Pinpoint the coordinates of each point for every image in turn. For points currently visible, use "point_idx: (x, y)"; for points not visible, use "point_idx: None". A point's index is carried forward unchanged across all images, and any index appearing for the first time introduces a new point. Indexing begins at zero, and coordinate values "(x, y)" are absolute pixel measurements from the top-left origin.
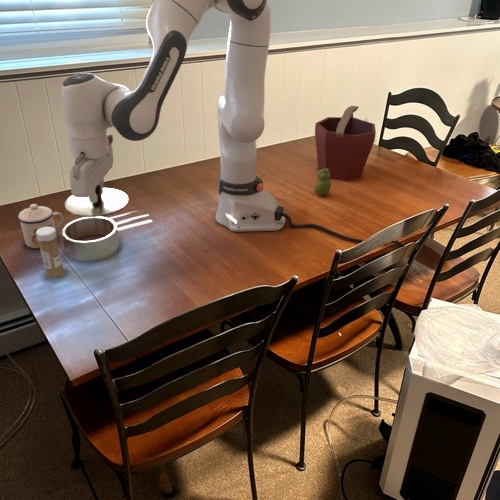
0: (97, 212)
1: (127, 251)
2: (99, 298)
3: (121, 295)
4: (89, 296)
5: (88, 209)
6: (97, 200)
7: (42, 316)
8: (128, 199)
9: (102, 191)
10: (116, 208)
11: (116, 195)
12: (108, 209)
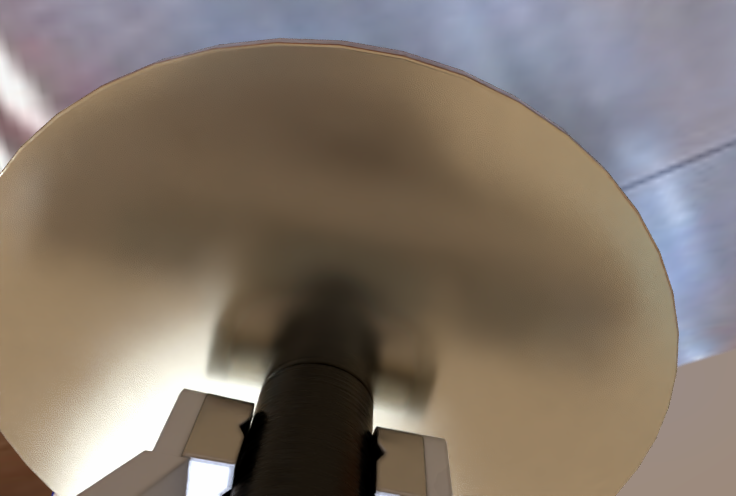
0: (610, 389)
1: (266, 30)
2: (687, 149)
3: (706, 41)
4: (653, 194)
5: (510, 460)
6: (372, 423)
7: (720, 342)
8: (278, 42)
9: (201, 417)
10: (564, 202)
11: (153, 221)
12: (567, 291)
